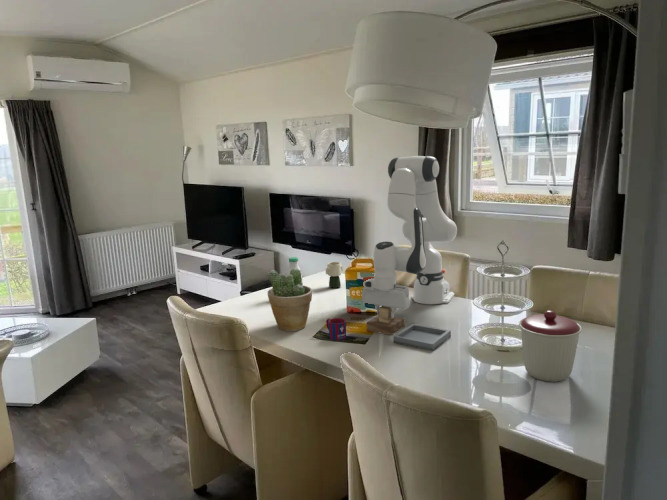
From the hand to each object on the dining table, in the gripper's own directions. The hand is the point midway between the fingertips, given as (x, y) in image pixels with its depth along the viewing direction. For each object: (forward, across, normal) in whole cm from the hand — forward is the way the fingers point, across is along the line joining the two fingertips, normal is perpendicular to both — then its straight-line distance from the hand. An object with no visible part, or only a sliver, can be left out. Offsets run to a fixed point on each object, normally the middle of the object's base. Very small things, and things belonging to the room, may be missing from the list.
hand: (385, 316), depth 211 cm
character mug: (+5, +54, -41) cm, 68 cm away
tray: (+5, -18, +4) cm, 19 cm away
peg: (+5, 0, 0) cm, 5 cm away
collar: (+5, 0, 0) cm, 5 cm away
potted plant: (+5, +35, +17) cm, 39 cm away
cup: (+5, +13, +17) cm, 22 cm away
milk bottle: (+5, +61, -17) cm, 64 cm away
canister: (+5, -65, +12) cm, 66 cm away
